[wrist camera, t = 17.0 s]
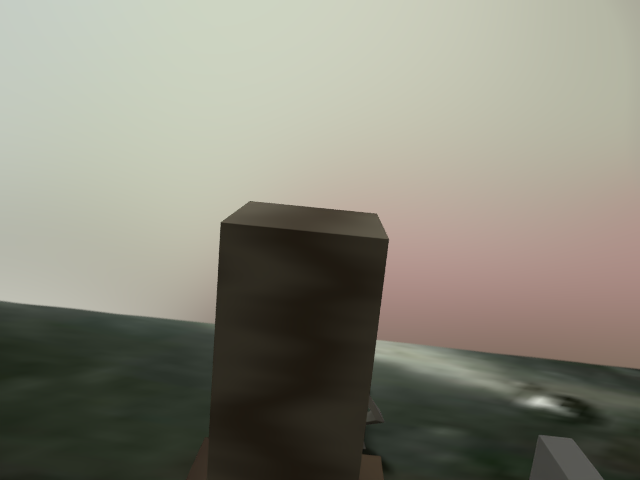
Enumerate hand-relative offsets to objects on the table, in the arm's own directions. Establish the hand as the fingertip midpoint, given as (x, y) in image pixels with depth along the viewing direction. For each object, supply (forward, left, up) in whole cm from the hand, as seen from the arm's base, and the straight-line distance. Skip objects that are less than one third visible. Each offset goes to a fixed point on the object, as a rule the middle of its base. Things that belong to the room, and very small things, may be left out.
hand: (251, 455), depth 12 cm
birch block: (0, +10, -10) cm, 14 cm away
